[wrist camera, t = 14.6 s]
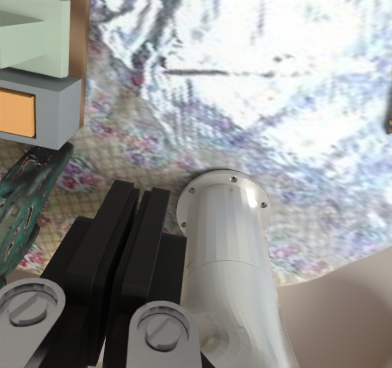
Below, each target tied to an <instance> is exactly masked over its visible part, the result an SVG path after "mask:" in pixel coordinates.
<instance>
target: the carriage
mask: <svg viewBox="0 0 392 368" xmlns="http://www.w3.org/2000/svg"><path fill="white" fill-rule="evenodd" d="M69 32H70V1H69V0H0V68H1V69H2V68H5V67H13V68H17V69H22V70H27V71H31V72H36V73H40V74H45V75H49V76H54V77H59V78H62V77H64V76H66V75H68V66H69Z"/></svg>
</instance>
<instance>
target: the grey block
mask: <svg viewBox="0 0 392 368" xmlns="http://www.w3.org/2000/svg"><path fill="white" fill-rule="evenodd" d="M81 80H82V79H81V78H76V77H72V76H66V77H65V78H64V77H62V78H59V77H54V76H49V75H45V74H40V73H36V72H31V71H27V70H22V69H17V68H13V67H5V68H2V69H1V68H0V87H3V88H7V89H12V90H17V91H21V92H26V93H31V94H35V95H36V134H35V135H34V136H32V137H28V136H23V135H18V134H13V133H9V132H4V131H0V138H2V139H7V140H12V141H17V142H21V143H26V144H31V145H36V146H41V147H46V148H50V149H55V150H59V149H60V148H61V147H62V146H63V145H64V144H65V143H66V142H67V141H68V140H69V139H70V138H71V137H72V136H73V135H74V134H75V133H76V132H77V131H78V130H79V122H80V101H81Z"/></svg>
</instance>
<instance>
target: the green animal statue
mask: <svg viewBox="0 0 392 368" xmlns="http://www.w3.org/2000/svg"><path fill="white" fill-rule="evenodd" d="M72 153H73V145H72V144H71V143H69V142H66V143H65V144H64V145H63V146H62V147H61V148H60V149H59V150H55V149H50V148H46V147H41V146H35V147H34V148H32V149H31V150H30V151H28V152H27V153H26V154H25V155H24V156H23V157H22V158H21V159H20V160H19V161H18V162H17V163H16V164H15V165H14V166H13V167H12V168H11V169H10V170H9V171H8V172H7V174H6V175H5V176H4V177H3V178H2V180H1V181H0V290H1V289H2V288H3V287H4V286H6V277H7V276H8V275H9V274H10V273H11V272H12V271H13V270H14V269H15V268H16V267H17V265H18V264H19V263H20V261H21V260H22V259H23V258H24V256H25V255H26V253H27V252H28V250H29V249H30V247H31V245H32V244H33V242H34V241H35V239H36V237H37V235H38V233H39V230H40V227H39V226H38V225H37V224H36V221H37V218H38V216H39V214H40V212H41V210H42V208H43V206H44V204H45V202H46V200H47V198H48V196H49V194H50V192H51V190H52V188H53V186H54V184H55V182H56V180H57V178H58V176H59V175H60V174H61V173H62V171H63V169H64V168H65V166H66V165H67V163H68V161H69V159H70V157H71V155H72Z"/></svg>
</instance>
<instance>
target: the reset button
mask: <svg viewBox="0 0 392 368" xmlns="http://www.w3.org/2000/svg"><path fill="white" fill-rule="evenodd" d="M0 131H4V132H9V133H13V134H18V135H23V136H28V137H32V136H34V135H35V134H36V95H35V94H31V93H26V92H21V91H17V90H12V89H7V88H3V87H0Z"/></svg>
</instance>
